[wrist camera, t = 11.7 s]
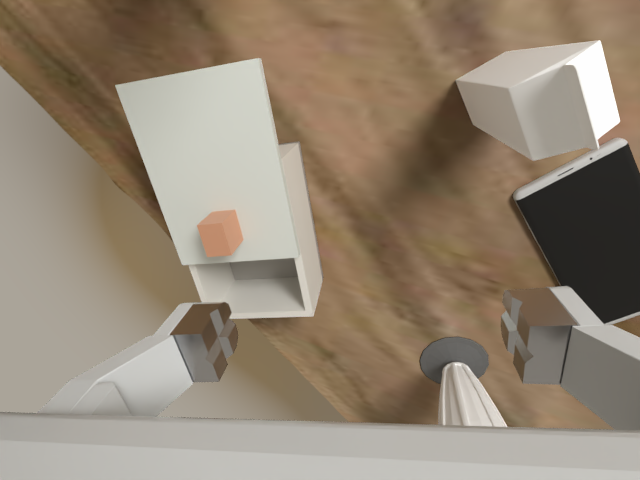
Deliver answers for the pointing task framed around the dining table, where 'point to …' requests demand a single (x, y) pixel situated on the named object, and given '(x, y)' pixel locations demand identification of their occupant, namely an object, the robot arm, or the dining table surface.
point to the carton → (271, 263)
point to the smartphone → (591, 227)
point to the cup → (460, 382)
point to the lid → (214, 162)
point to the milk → (543, 98)
